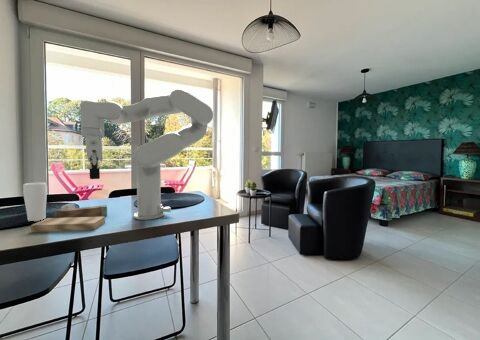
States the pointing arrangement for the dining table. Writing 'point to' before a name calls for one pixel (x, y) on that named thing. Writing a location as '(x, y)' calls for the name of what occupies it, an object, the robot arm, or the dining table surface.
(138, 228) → the dining table surface
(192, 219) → the dining table surface
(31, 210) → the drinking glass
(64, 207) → the stop block
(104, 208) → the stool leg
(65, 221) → the board
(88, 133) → the robot arm
